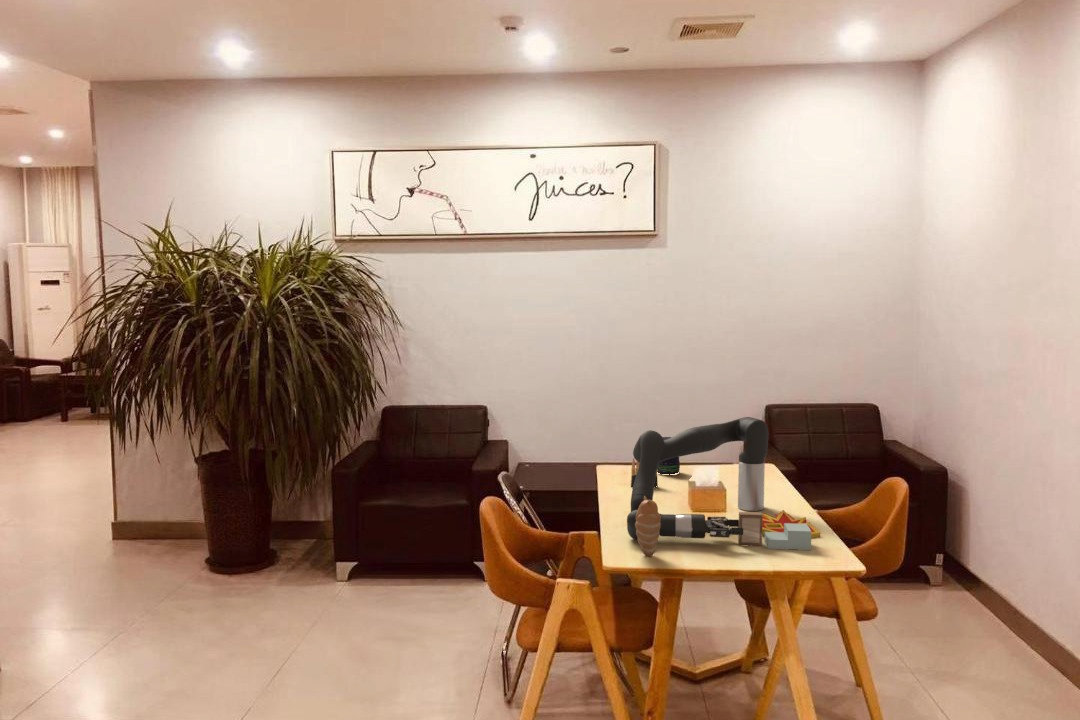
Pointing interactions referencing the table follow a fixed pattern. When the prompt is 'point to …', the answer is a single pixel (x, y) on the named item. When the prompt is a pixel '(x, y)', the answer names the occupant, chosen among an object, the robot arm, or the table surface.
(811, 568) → the table surface
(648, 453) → the robot arm
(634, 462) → the ammunition clip
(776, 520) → the wall decoration
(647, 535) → the brown ribbed tall piece
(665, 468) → the storage jar
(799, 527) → the blue-grey stepped block
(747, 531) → the frame
